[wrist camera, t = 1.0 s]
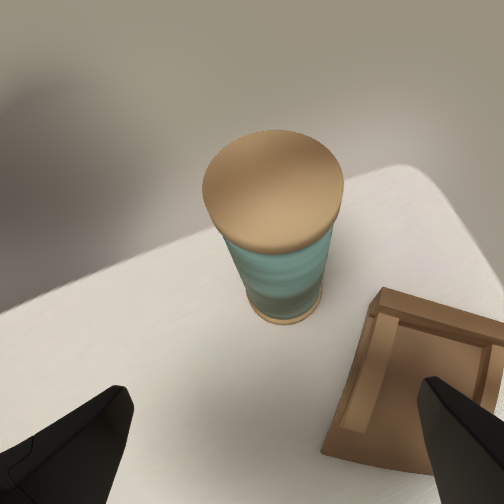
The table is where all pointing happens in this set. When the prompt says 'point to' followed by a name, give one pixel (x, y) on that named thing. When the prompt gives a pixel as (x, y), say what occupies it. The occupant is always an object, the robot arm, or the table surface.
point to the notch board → (410, 377)
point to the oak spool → (276, 217)
